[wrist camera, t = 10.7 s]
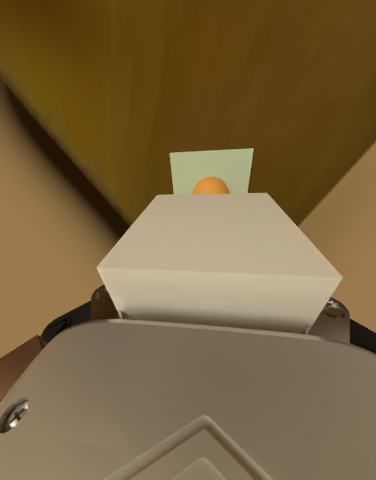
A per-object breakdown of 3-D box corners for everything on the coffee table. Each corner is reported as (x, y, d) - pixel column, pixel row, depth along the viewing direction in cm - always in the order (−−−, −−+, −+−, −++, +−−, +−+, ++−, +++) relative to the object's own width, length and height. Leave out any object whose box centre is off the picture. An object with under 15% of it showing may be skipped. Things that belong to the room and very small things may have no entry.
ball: (227, 220, 24) (227, 190, 25) (231, 203, 19) (230, 167, 21) (193, 220, 25) (194, 191, 26) (189, 203, 20) (191, 169, 21)
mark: (253, 148, 21) (253, 148, 21) (242, 224, 27) (242, 224, 27) (169, 152, 23) (169, 152, 22) (177, 224, 29) (177, 224, 28)
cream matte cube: (266, 192, 11) (343, 277, 5) (250, 274, 15) (278, 378, 9) (157, 194, 12) (96, 267, 6) (169, 271, 16) (142, 362, 10)
